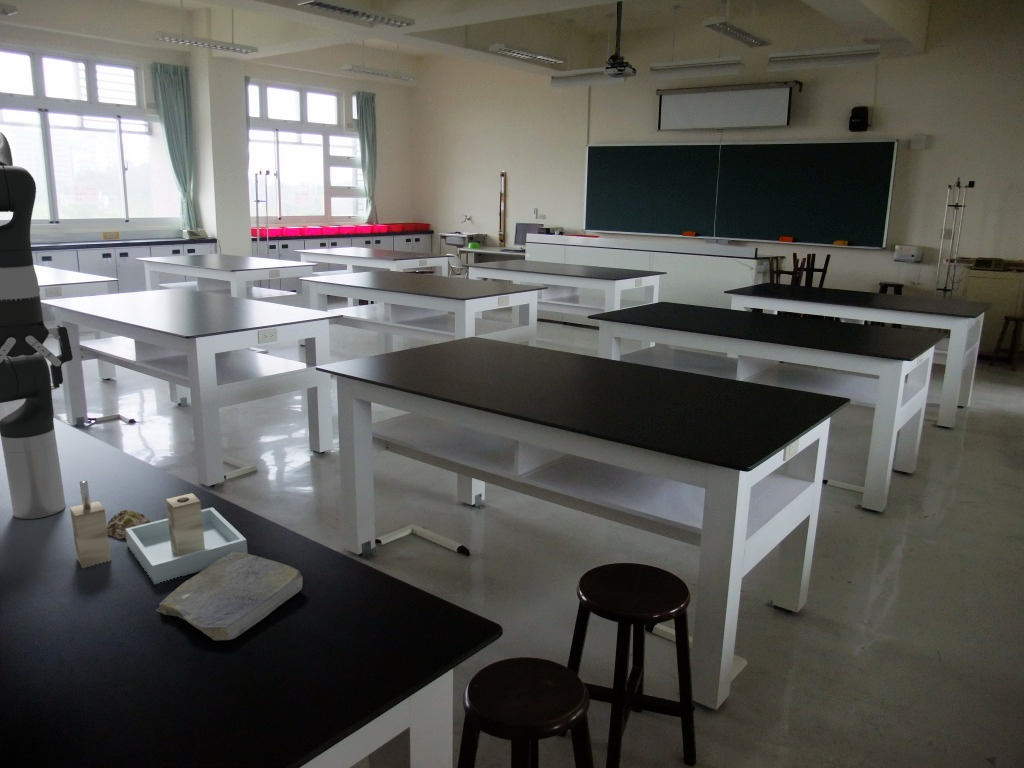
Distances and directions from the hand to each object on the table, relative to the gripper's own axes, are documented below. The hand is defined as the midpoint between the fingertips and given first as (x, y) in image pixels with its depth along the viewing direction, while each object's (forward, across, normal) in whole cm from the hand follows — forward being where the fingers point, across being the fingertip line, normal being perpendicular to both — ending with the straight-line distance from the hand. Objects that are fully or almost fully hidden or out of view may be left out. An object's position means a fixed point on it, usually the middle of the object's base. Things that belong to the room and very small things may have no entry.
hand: (26, 391), depth 126 cm
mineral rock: (+33, -14, -7) cm, 36 cm away
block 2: (+31, -20, +10) cm, 39 cm away
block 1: (+32, -6, +2) cm, 33 cm away
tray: (+32, -20, +9) cm, 39 cm away
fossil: (+33, -20, +31) cm, 49 cm away
